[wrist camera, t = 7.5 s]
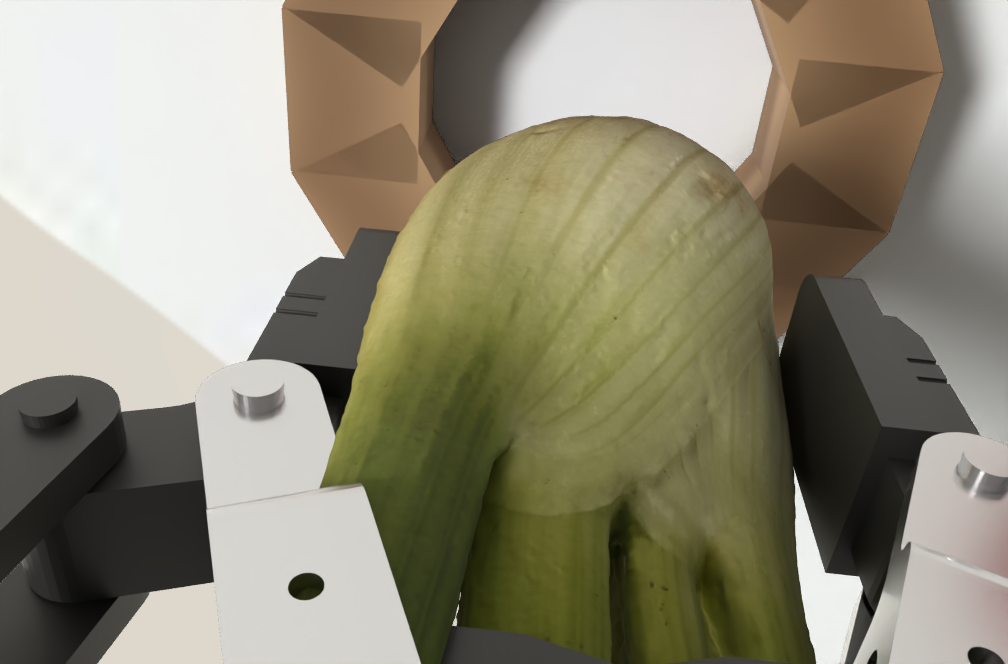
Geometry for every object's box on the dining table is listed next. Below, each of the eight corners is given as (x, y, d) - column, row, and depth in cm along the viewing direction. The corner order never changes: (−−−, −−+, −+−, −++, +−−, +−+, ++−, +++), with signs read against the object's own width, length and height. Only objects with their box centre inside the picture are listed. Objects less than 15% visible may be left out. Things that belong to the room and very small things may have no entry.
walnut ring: (994, -217, 18) (1041, -215, 16) (812, 361, 25) (829, 409, 24) (298, -279, 18) (265, -284, 16) (321, 310, 26) (300, 351, 24)
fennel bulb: (401, 141, 15) (35, 884, 5) (671, 0, 14) (912, 665, 4) (556, 392, 18) (516, 1221, 8) (799, 297, 16) (1153, 1178, 6)
